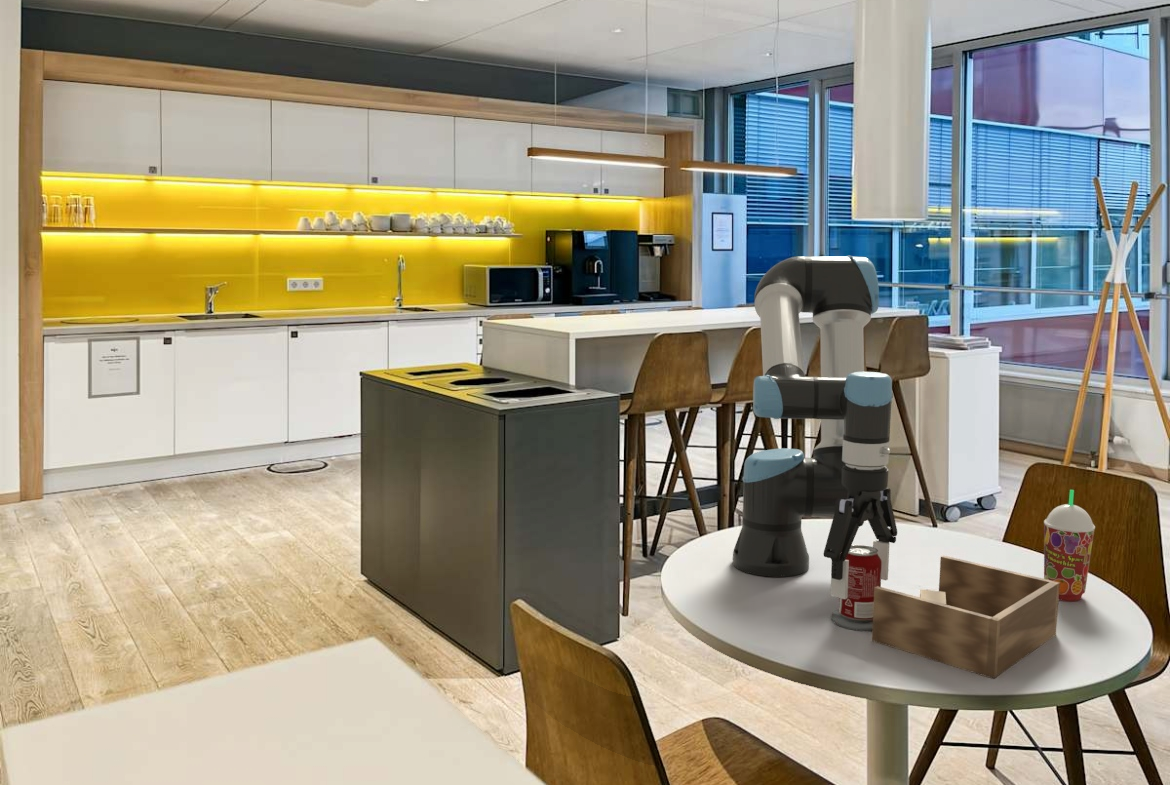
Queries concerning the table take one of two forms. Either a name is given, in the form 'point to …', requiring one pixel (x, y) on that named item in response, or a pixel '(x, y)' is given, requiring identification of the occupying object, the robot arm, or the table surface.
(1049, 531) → the smoothie
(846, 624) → the coaster
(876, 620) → the open wooden box
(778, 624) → the table surface
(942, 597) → the offcut top
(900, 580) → the table surface
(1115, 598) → the table surface
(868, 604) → the soda can
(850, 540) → the robot arm
